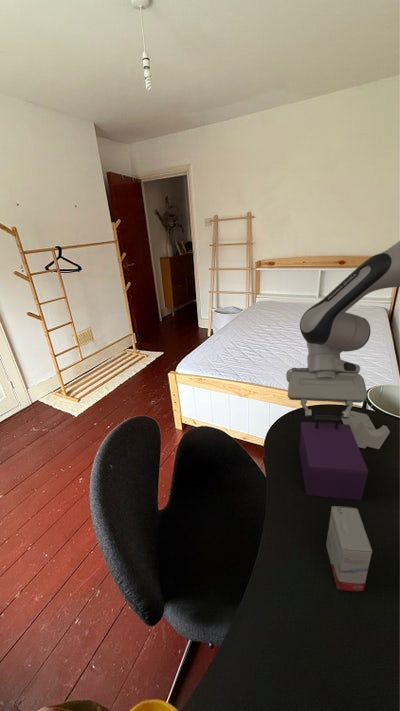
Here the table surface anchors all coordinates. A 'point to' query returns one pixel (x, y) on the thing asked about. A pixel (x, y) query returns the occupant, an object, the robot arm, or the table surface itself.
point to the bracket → (366, 430)
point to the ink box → (348, 548)
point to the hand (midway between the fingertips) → (326, 417)
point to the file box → (331, 480)
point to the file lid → (332, 446)
